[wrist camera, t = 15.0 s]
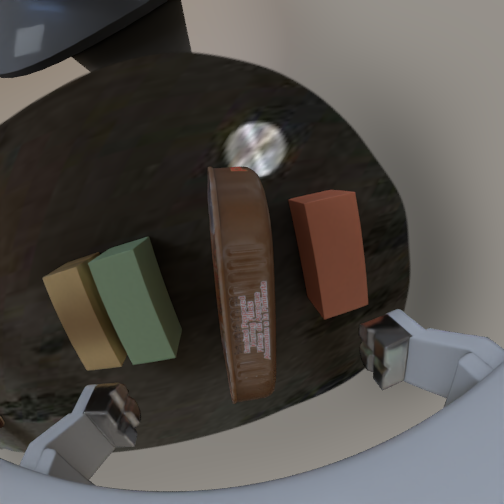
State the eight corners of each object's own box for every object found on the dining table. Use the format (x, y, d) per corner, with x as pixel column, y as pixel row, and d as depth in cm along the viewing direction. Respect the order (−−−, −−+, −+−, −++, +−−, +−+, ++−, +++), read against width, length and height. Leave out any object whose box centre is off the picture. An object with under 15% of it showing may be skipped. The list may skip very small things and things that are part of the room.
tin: (206, 171, 19) (195, 161, 10) (250, 168, 19) (272, 156, 11) (223, 355, 22) (227, 429, 14) (259, 352, 23) (277, 424, 14)
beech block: (67, 262, 19) (42, 278, 15) (99, 251, 19) (76, 266, 15) (102, 345, 21) (87, 370, 17) (134, 339, 21) (121, 366, 17)
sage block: (109, 248, 19) (87, 262, 15) (149, 236, 19) (132, 248, 15) (144, 337, 21) (133, 365, 17) (182, 329, 21) (176, 357, 17)
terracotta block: (287, 199, 20) (303, 203, 16) (331, 189, 20) (355, 191, 16) (307, 297, 22) (324, 319, 18) (346, 285, 22) (368, 304, 18)
